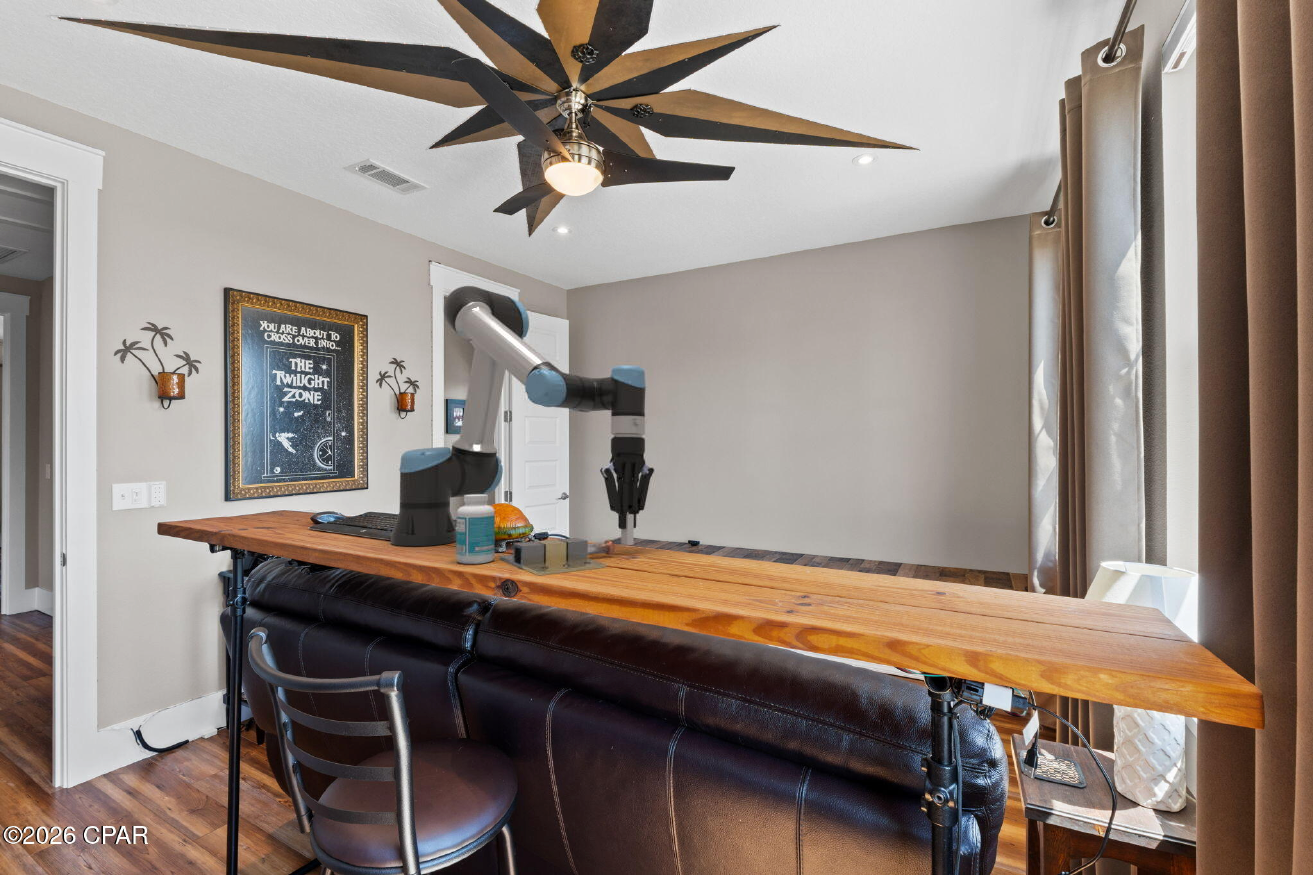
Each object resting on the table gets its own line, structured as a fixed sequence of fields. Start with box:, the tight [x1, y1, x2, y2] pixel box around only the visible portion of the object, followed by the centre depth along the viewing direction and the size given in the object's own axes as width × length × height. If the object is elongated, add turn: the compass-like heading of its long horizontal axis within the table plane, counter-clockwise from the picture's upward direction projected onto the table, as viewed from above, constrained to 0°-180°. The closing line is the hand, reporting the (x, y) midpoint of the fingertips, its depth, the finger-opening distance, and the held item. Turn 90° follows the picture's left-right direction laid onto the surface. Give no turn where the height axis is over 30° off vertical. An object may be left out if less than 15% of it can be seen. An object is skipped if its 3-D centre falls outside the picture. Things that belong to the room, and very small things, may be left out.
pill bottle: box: [455, 494, 496, 565], centre depth 118 cm, size 8×7×14 cm
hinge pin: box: [588, 539, 616, 556], centre depth 120 cm, size 3×15×3 cm, turn 125°
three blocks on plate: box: [498, 537, 607, 576], centre depth 116 cm, size 20×14×4 cm
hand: (627, 543), depth 127 cm, fingers closed
